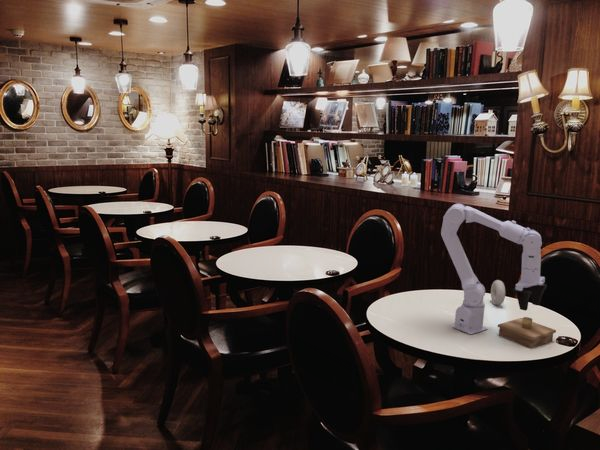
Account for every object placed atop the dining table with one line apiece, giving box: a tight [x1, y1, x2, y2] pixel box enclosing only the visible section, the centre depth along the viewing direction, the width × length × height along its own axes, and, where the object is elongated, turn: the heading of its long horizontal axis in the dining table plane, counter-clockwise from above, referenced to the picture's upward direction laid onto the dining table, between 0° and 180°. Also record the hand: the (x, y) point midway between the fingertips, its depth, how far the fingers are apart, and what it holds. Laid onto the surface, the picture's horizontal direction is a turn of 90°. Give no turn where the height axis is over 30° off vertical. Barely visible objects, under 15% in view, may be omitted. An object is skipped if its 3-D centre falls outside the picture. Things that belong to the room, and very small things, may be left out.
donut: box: [490, 279, 506, 306], centre depth 211 cm, size 10×4×10 cm, turn 177°
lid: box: [497, 316, 557, 340], centre depth 178 cm, size 13×13×4 cm
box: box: [498, 328, 554, 349], centre depth 178 cm, size 12×12×3 cm
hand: (529, 307), depth 177 cm, fingers open, 7 cm apart
